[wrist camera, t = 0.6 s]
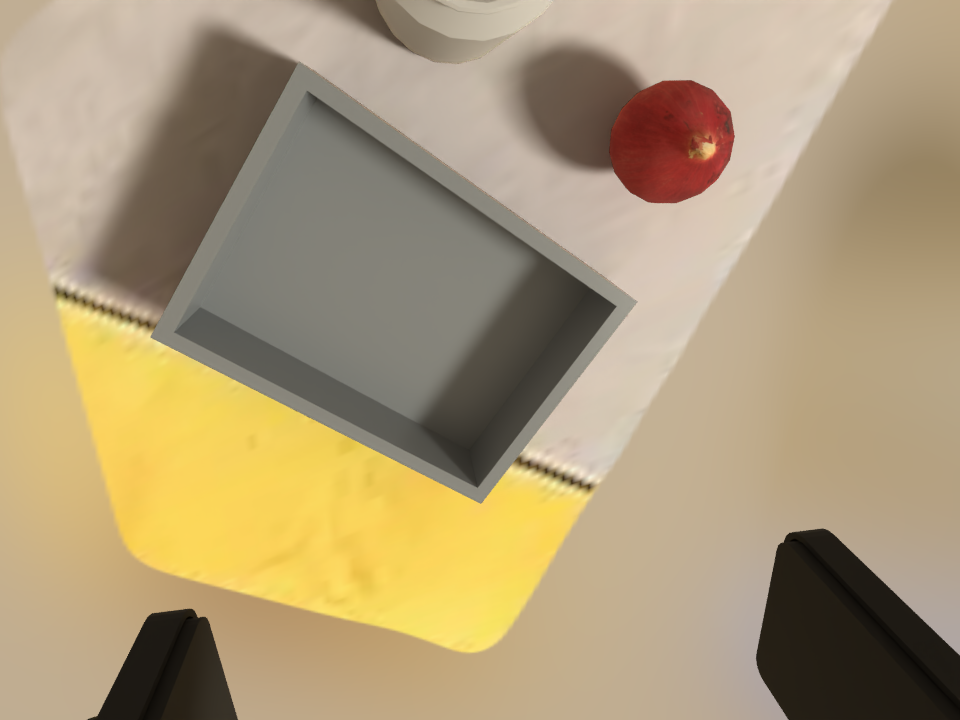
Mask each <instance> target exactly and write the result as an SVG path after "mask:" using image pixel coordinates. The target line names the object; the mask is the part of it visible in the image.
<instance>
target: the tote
mask: <svg viewBox="0 0 960 720" xmlns="http://www.w3.org/2000/svg"><path fill="white" fill-rule="evenodd" d="M636 303H637V301H636V300H634V299H633V298H632V297H630V296H629V295H628V294H626V293H625V292H624V291H622V290H621V289H620V288H618V287H617V286H616V285H614V284H613V283H612V282H610V281H609V280H608V279H606V278H605V277H604V276H602V275H601V274H599V273H598V272H597V271H595V270H594V269H592V268H591V267H590V266H588V265H587V264H585V263H584V262H583V261H581V260H580V259H578V258H577V257H576V256H574V255H573V254H571V253H570V252H568V251H567V250H566V249H564V248H563V247H561V246H560V245H559V244H557V243H556V242H554V241H553V240H552V239H550V238H549V237H547V236H546V235H545V234H543V233H542V232H540V231H539V230H538V229H536V228H535V227H533V226H532V225H531V224H529V223H528V222H526V221H525V220H523V219H522V218H521V217H519V216H518V215H516V214H515V213H514V212H512V211H511V210H509V209H508V208H507V207H505V206H504V205H502V204H501V203H500V202H498V201H497V200H495V199H494V198H493V197H491V196H490V195H488V194H487V193H486V192H484V191H483V190H481V189H480V188H478V187H477V186H476V185H474V184H473V183H471V182H470V181H469V180H467V179H466V178H464V177H463V176H462V175H460V174H459V173H457V172H456V171H455V170H453V169H452V168H450V167H449V166H448V165H446V164H445V163H443V162H442V161H441V160H439V159H438V158H436V157H435V156H434V155H432V154H431V153H429V152H428V151H426V150H425V149H424V148H422V147H421V146H419V145H418V144H417V143H415V142H414V141H412V140H411V139H410V138H408V137H407V136H405V135H404V134H403V133H401V132H400V131H398V130H397V129H396V128H394V127H393V126H391V125H390V124H389V123H387V122H386V121H384V120H383V119H381V118H380V117H379V116H377V115H376V114H374V113H373V112H372V111H370V110H369V109H367V108H366V107H365V106H363V105H362V104H360V103H359V102H358V101H356V100H355V99H353V98H352V97H351V96H349V95H348V94H346V93H345V92H344V91H342V90H341V89H339V88H338V87H337V86H335V85H334V84H332V83H331V82H329V81H328V80H327V79H325V78H324V77H322V76H321V75H320V74H318V73H317V72H315V71H314V70H312V69H311V68H309V67H307V66H306V65H304V64H302V63H301V62H299V63H298V64H297V66H296V68H295V70H294V72H293V74H292V76H291V77H290V79H289V81H288V83H287V85H286V87H285V89H284V90H283V92H282V94H281V96H280V98H279V100H278V102H277V103H276V105H275V107H274V109H273V111H272V113H271V115H270V116H269V118H268V120H267V122H266V124H265V126H264V127H263V129H262V131H261V133H260V135H259V137H258V139H257V140H256V142H255V144H254V146H253V148H252V150H251V152H250V153H249V155H248V157H247V159H246V161H245V163H244V165H243V166H242V168H241V170H240V172H239V174H238V176H237V178H236V179H235V181H234V183H233V185H232V187H231V189H230V191H229V192H228V194H227V196H226V198H225V200H224V202H223V204H222V205H221V207H220V209H219V211H218V213H217V215H216V217H215V218H214V220H213V222H212V224H211V226H210V228H209V229H208V231H207V233H206V235H205V237H204V239H203V241H202V242H201V244H200V246H199V248H198V250H197V252H196V254H195V255H194V257H193V259H192V261H191V263H190V265H189V267H188V268H187V270H186V272H185V274H184V276H183V278H182V280H181V281H180V283H179V285H178V287H177V289H176V291H175V293H174V294H173V296H172V298H171V300H170V302H169V304H168V306H167V307H166V309H165V311H164V313H163V315H162V317H161V318H160V320H159V322H158V324H157V326H156V328H155V330H154V331H153V333H152V335H151V338H153V339H155V340H157V341H159V342H161V343H163V344H165V345H167V346H169V347H170V348H172V349H174V350H176V351H178V352H180V353H182V354H184V355H186V356H188V357H190V358H192V359H194V360H196V361H198V362H200V363H202V364H204V365H206V366H208V367H210V368H212V369H214V370H216V371H218V372H220V373H222V374H224V375H226V376H228V377H230V378H232V379H234V380H236V381H238V382H240V383H242V384H244V385H246V386H248V387H250V388H252V389H254V390H256V391H258V392H260V393H262V394H264V395H266V396H268V397H270V398H272V399H274V400H276V401H278V402H280V403H282V404H284V405H286V406H288V407H290V408H292V409H294V410H296V411H298V412H300V413H302V414H304V415H306V416H308V417H310V418H312V419H314V420H316V421H318V422H320V423H322V424H324V425H325V426H327V427H329V428H331V429H333V430H335V431H337V432H339V433H341V434H343V435H345V436H347V437H349V438H351V439H353V440H355V441H357V442H359V443H361V444H363V445H365V446H367V447H369V448H371V449H373V450H375V451H377V452H379V453H381V454H383V455H385V456H387V457H389V458H391V459H393V460H395V461H397V462H399V463H401V464H403V465H405V466H407V467H409V468H411V469H413V470H415V471H417V472H419V473H421V474H423V475H425V476H427V477H429V478H431V479H433V480H435V481H437V482H439V483H441V484H443V485H445V486H447V487H449V488H451V489H453V490H455V491H457V492H459V493H461V494H463V495H465V496H467V497H469V498H471V499H473V500H475V501H477V502H479V503H480V504H481V503H482V502H483V501H484V499H485V498H486V497H487V495H488V494H489V493H490V492H491V490H492V489H493V488H494V486H495V485H496V484H497V483H498V481H499V480H500V479H501V477H502V476H503V475H504V474H505V472H506V471H507V470H508V468H509V467H510V466H511V465H512V463H513V462H514V461H515V459H516V458H517V457H518V455H519V454H520V453H521V452H522V450H523V449H524V448H525V446H526V445H527V444H528V443H529V441H530V440H531V439H532V437H533V436H534V435H535V434H536V432H537V431H538V430H539V428H540V427H541V426H542V424H543V423H544V422H545V421H546V419H547V418H548V417H549V415H550V414H551V413H552V412H553V410H554V409H555V408H556V406H557V405H558V404H559V403H560V401H561V400H562V399H563V397H564V396H565V395H566V394H567V392H568V391H569V390H570V388H571V387H572V386H573V384H574V383H575V382H576V381H577V379H578V378H579V377H580V375H581V374H582V373H583V372H584V370H585V369H586V368H587V366H588V365H589V364H590V363H591V361H592V360H593V359H594V357H595V356H596V355H597V354H598V352H599V351H600V350H601V348H602V347H603V346H604V344H605V343H606V342H607V341H608V339H609V338H610V337H611V335H612V334H613V333H614V332H615V330H616V329H617V328H618V326H619V325H620V324H621V323H622V321H623V320H624V319H625V317H626V316H627V315H628V313H629V312H630V311H631V310H632V308H633V307H634V306H635V304H636Z"/></svg>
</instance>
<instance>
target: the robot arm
mask: <svg viewBox="0 0 960 720" xmlns="http://www.w3.org/2000/svg"><path fill="white" fill-rule="evenodd" d="M756 661H757V666H758V670H759V673H760V675H761V677H762V679H763V681H764V682H765V684H766V685H767V687H768V688H769V690H770V691H771V693H772V695H773V696H774V698H775V699H776V701H777V702H778V704H779V706H780V707H781V709H782V710H783V712H784V713H785V715H786V716H787V718H788V719H789V720H960V655H959V654H958V653H956V652H955V651H954V650H953V649H952V648H951V647H950V646H949V645H948V644H947V643H946V642H945V641H944V640H943V639H942V638H941V637H940V636H939V635H938V634H937V633H936V632H935V631H934V630H933V629H931V628H930V627H929V626H928V625H927V624H926V623H925V622H924V621H923V620H922V619H921V618H920V617H919V616H918V615H917V614H916V613H915V612H913V610H912V609H911V608H910V607H909V606H908V605H906V604H905V603H904V602H903V601H902V600H901V599H900V598H899V597H898V596H897V595H896V594H895V593H894V592H893V591H892V590H891V589H890V588H889V587H888V586H887V585H886V584H885V583H884V582H883V581H881V580H880V579H879V578H878V577H877V576H876V575H875V574H874V573H873V572H872V571H871V570H870V569H869V568H868V567H867V566H866V565H865V564H864V563H863V562H862V561H860V559H858V557H856V556H855V555H854V554H853V553H852V552H851V551H850V550H849V549H848V548H847V547H846V546H845V545H844V544H843V543H842V542H841V541H840V540H839V539H838V538H837V537H836V536H835V535H834V534H832V533H831V532H830V531H828V530H826V529H815V530H808V531H800V532H792V533H789V534H788V535H787V536H786V538H785V540H784V543H780V544H779V545H778V548H777V551H776V557H775V563H774V567H773V572H772V577H771V582H770V587H769V593H768V598H767V603H766V608H765V613H764V618H763V623H762V629H761V634H760V639H759V644H758V649H757V654H756ZM88 720H238V719H237V715H236V712H235V708H234V705H233V702H232V699H231V695H230V692H229V688H228V685H227V682H226V678H225V675H224V671H223V668H222V665H221V661H220V658H219V654H218V651H217V648H216V644H215V641H214V638H213V634H212V631H211V628H210V624H209V621H208V619H207V618H206V617H200V618H198V617H197V615H196V613H195V611H194V610H193V609H184V610H176V611H168V612H161V613H152V614H151V615H149V616H148V617H147V619H146V621H145V622H144V624H143V626H142V628H141V630H140V632H139V634H138V636H137V638H136V640H135V642H134V644H133V646H132V648H131V650H130V652H129V654H128V656H127V658H126V660H125V662H124V664H123V666H122V668H121V670H120V672H119V674H118V677H117V678H116V680H115V682H114V684H113V686H112V688H111V690H110V692H109V694H108V696H107V698H106V700H105V702H104V704H103V706H102V708H101V710H100V712H99V714H98V716H96V717H93V718H90V719H88Z"/></svg>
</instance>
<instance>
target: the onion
mask: <svg viewBox="0 0 960 720" xmlns="http://www.w3.org/2000/svg"><path fill="white" fill-rule="evenodd" d="M734 137H735V136H734V130H733V124H732V118H731V112H730V110H729V109H728V108H727V107H726V105H725V104H724V103H723V102H722V101H721V99H720V98H719V97H718V96H717V95H716V93H715V92H714V91H713V90H711V89H709V88H707V87H705V86H703V85H700V84H698V83H696V82H694V81H692V80H683V81H662V82H660V83H657V84H655V85H653V86H651V87H649V88H646V89H644V90H642V91H640V92H639V93H637V94H636V95H635V96H634V97H633V98H632V99H631V100H630V101H629V102H628V103H627V104H626V105H625V106H624V107H623V108H622V109H621V111H620V113H619V115H618V117H617V119H616V121H615V123H614V125H613V127H612V129H611V138H610V149H609V153H610V157H611V161H612V165H613V169H614V172H615V174H616V175H617V176H618V178H619V179H620V181H621V182H622V183H623V185H624V186H625V187H626V188H627V189H628V190H629V192H630V193H632V194H634V195H636V196H638V197H640V198H641V199H643V200H645V201H647V202H651V203H678V202H680V201H683V200H686V199H688V198H691V197H693V196H696V195H698V194H701V193H702V192H703V191H704V190H706V189H707V188H708V187H709V186H710V185H712V184H713V183H714V182H715V181H716V180H717V179H718V178H719V176H720V175H721V173H722V171H723V170H724V168H725V167H726V165H727V164H728V162H729V161H730V157H731V152H732V147H733V142H734Z"/></svg>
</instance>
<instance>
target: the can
mask: <svg viewBox="0 0 960 720" xmlns="http://www.w3.org/2000/svg"><path fill="white" fill-rule="evenodd" d="M552 2H553V0H376V3H377V7H378V10H379V12H380V14H381V15H382V17H383V19H384V20H385V22H386V24H387V25H388V27H389V29H390V30H391V32H392V34H393V35H394V36H395V37H397V38H398V39H399V40H400V41H401V42H402V43H403V44H404V45H405V46H406V47H407V48H409V49H410V50H411V51H412V52H414V53H416V54H418V55H420V56H422V57H425V58H427V59H429V60H431V61H433V62H440V63H452V64H460V63H464V62H467V61H471V60H475V59H478V58H481V57H483V56H484V55H485V54H487V53H488V52H490V51H491V50H493V49H494V48H495V47H497V46H498V45H500V44H501V43H503V42H504V41H505V40H507V39H508V38H510V37H511V36H512V35H514V34H515V33H517V32H518V31H519V30H521V29H522V28H524V27H525V26H526V25H528V24H529V23H531V22H532V21H533V20H535V19H536V18H538V17H539V16H540V15H542V14H543V13H544V12H545V11H546V10H547V8H548V7H549V6H550V4H551V3H552Z"/></svg>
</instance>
